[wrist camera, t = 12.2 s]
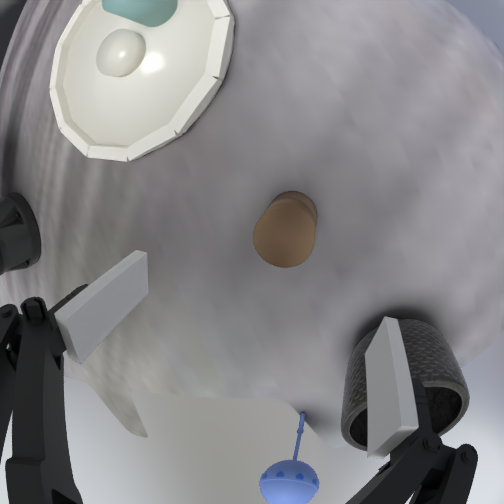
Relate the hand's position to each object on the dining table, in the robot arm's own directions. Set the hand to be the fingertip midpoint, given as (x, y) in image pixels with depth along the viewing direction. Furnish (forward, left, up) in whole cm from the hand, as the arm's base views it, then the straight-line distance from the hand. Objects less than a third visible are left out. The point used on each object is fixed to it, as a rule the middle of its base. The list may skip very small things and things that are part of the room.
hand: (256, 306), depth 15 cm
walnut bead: (0, 0, -17) cm, 17 cm away
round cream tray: (-22, +16, -17) cm, 32 cm away
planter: (+17, -13, -17) cm, 27 cm away
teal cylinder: (-19, +22, -16) cm, 32 cm away
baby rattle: (+10, -33, -17) cm, 38 cm away
